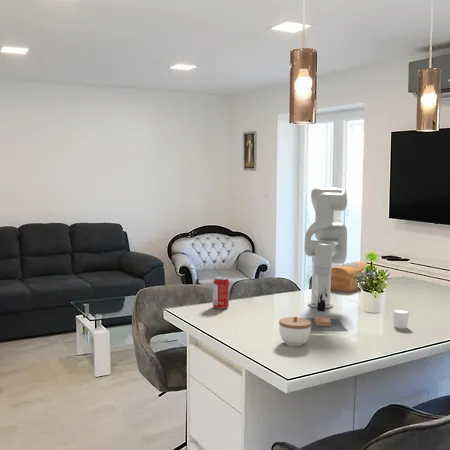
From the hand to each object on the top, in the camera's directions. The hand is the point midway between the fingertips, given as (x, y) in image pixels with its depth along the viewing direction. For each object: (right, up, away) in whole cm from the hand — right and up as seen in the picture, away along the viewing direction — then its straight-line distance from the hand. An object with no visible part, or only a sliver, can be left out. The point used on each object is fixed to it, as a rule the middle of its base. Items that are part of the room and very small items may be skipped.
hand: (321, 311), depth 250 cm
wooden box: (+31, +1, +84) cm, 89 cm away
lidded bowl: (-16, -8, -31) cm, 36 cm away
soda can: (-45, -2, +25) cm, 52 cm away
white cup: (+35, -7, -2) cm, 36 cm away
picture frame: (0, -4, +1) cm, 4 cm away
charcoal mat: (0, -6, -4) cm, 7 cm away
